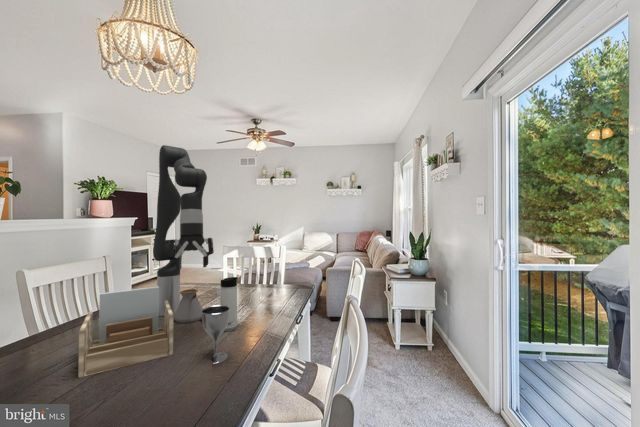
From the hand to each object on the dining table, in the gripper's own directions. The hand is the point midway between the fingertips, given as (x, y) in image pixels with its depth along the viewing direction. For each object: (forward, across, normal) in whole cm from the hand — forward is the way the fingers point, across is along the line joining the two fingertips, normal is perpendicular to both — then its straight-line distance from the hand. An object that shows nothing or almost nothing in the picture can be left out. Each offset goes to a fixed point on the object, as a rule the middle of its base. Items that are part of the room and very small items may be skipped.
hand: (192, 267), depth 98 cm
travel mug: (+26, -11, -10) cm, 29 cm away
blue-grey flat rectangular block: (+24, +19, +3) cm, 30 cm away
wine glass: (+27, -10, +13) cm, 32 cm away
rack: (+26, +16, +8) cm, 31 cm away
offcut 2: (+24, +16, +9) cm, 30 cm away
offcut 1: (+24, +17, +6) cm, 30 cm away
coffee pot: (+25, +5, -15) cm, 29 cm away
